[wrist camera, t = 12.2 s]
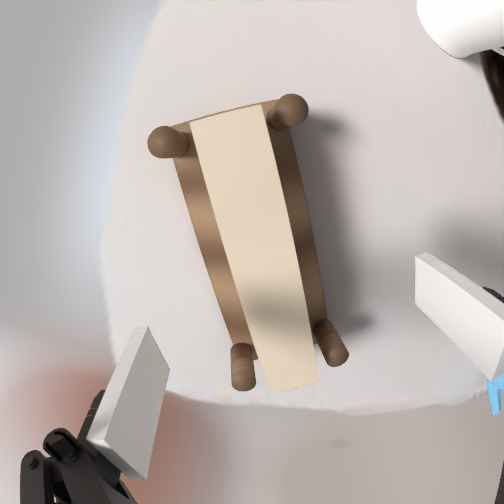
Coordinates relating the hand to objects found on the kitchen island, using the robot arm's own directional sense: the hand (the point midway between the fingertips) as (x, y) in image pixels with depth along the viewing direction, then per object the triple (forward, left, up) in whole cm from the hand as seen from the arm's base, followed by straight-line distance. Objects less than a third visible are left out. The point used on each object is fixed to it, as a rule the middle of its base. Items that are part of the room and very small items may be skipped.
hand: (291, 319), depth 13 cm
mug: (-18, +27, -12) cm, 35 cm away
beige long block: (0, 0, -11) cm, 11 cm away
